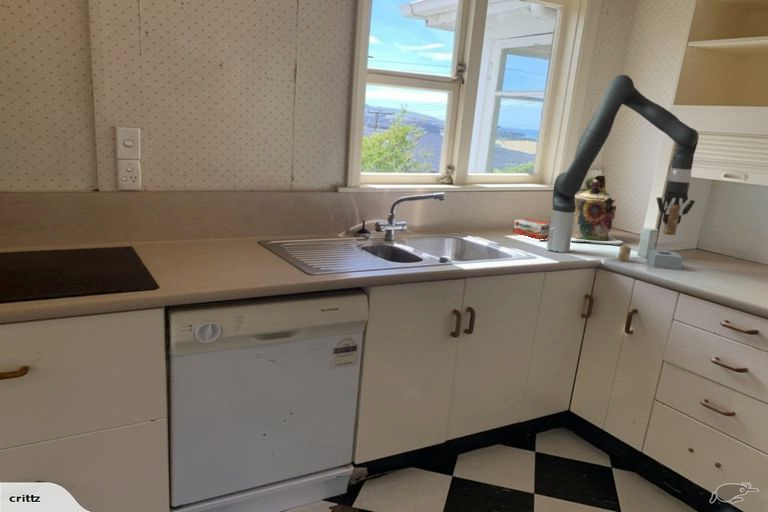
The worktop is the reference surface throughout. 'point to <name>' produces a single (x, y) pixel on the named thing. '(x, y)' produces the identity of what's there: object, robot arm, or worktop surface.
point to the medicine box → (531, 228)
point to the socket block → (664, 259)
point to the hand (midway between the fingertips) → (671, 223)
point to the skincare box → (647, 241)
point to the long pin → (672, 220)
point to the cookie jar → (594, 213)
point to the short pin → (624, 253)
